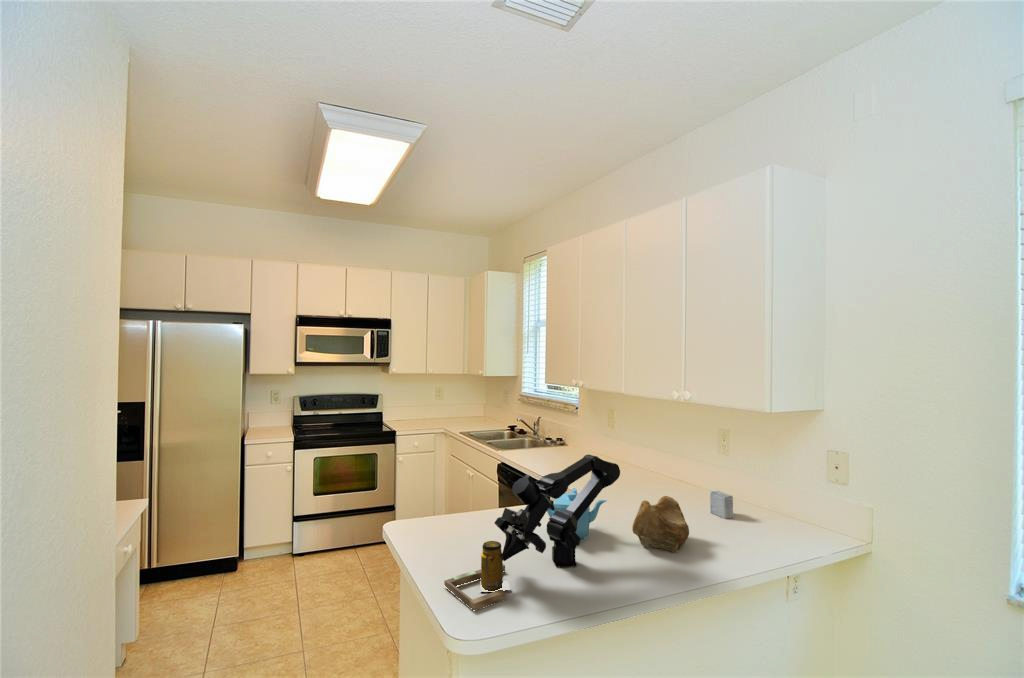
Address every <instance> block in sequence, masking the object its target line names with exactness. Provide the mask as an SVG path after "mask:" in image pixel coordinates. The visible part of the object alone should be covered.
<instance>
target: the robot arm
mask: <svg viewBox="0 0 1024 678" xmlns="http://www.w3.org/2000/svg"><path fill="white" fill-rule="evenodd" d="M588 473H591V474H590V479H589V480H588V481H587V483H586V484H585V485H584V486H583V488H582V489H581V490H580V491H579V493H577V494H578V495H577V496H576V498H575V499H574V500H573V501H572V503H571V504H570V505H569V506H568V508H567V509H566V510H565V511H559V510H556V511H555V512H554V514H553V515H552V517H550V516H549V518H548V521H547V524H546V533H547V535H548V537H549V540H550V541H551V542H553V546H551V560H552V562H553V564H554V565H555V567H556V568H564V567H565V568H570V567H577V566H578V564H577V562H576V548H577V547H578V546H580V544H581V543H580V542H581V541H580V537H579V536H578V535H577V534H576V533H575V532H576V530H577V522H578V520H579V519H580V517H581V516H582V515H583V513H584V512H585V511H586V510H587V508H588V507H589V506H591V505H592V504H593V502H594V500H595V499H596V498H597V497H598V495H599V494H600V493H601V492H602V490H603V489H605V488H607V487H610V486H611V485H613V484H614V483H615V482H616V481H618V479H619V478H620V476H621V469H620V466H619V464H617V463H615V462H610V461H607V460H604V459H602V458H600V457H599V456H597V455H593V454H586V455H584V456H583V457H582V458H580V459H579V460H577V461H576V462H574V463H572V464H570V465H569V466H567V467H566V468H564V469H563V470H560V471H558V472H551V473H548V474H545V475H543V476H541V478H540V479H538V480H535V481H534V479H533V477H532V476H531V475H529V474H525V475H524V477H521V478H519V479H517V480H516V481H514V482H513V485H512V486H511V491H512V493H513V494H514V496H516V497H517V498H518V499H519V501H520V502H521V503H522V504H524V505H526V506H525V508H524V509H523V508H520V509H519V510H517V511H515V510H512V509H509V508H507V507H504V509H503V512H502V514H501V516H499V517H497V518H496V520H495V522H494V525H495V526H497V528H498V529H499V530H501V532H502V533H503V534H504V535H505V541H504V547H503V550H502V554H503V561H504V562H505V561H508V560H509V559H510V558H512V557H514V556H516V555H517V554H520V553H521V552H523V551H525V550H529V549H530V547H529V546H530V544H531V545H534V548H535V550H536V551H537V552H539V553H540V554H543V553H544V552H545V550H546V548H547V542H546V541H544V539H543V538H542V537H541V536H540V535H539V534H537V533H535V532H534V531H535V530H536V529H537V527H539V528H541V526H542V523H541V521H542V519H543V517H545V515H546V513H548V512H547V510H548V509H550V510H553V511H554V510H555V509H554V502H555V499H558V498H560V497H561V496H562V495H563V494H564V493H566V492H567V491H568V488H569V486H570V485H571V484H573V483H574V482H576V481H578V480H579V479H581V478H582V477H584V476H586V475H587V474H588ZM546 497H547V498H548V499H547V498H546ZM549 498H551V499H554V500H551V499H549Z"/></svg>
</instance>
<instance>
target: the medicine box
mask: <svg viewBox="0 0 1024 678" xmlns="http://www.w3.org/2000/svg"><path fill="white" fill-rule="evenodd" d="M709 499H710V501H709V503H710V507H709V508H710V513H711V514H712V515H715V516H718V517H720V518H723V519H725V520H727V519H732V518H733V517H734V498H733V495H731V494H728V493H726V492H722V491H720V490H714V491H710V495H709Z"/></svg>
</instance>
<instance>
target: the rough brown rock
mask: <svg viewBox="0 0 1024 678" xmlns="http://www.w3.org/2000/svg"><path fill="white" fill-rule="evenodd" d="M631 529H632V533H633V534H634V535H636V536H637V537H638V539H639V542H640V544H641V546H642V547H643V548H650V547H653V548H656V549H657V548H658V549H665V550H666V551H668V552H671V553H674V554H675V553H677V552H678V551H679V552H680V550H681V549H682V547H683V546H684V544H686V543H685V542H686V541H688V538H689V536H690V529H689V525H688V523H687V522H686V519H685V516H684V514H683V511H682V509H681V506H680V504H679V502H678V501H677V500H676V499H674V498H673V497H671V496H668V495H664V496H662V497H661V498H660V499H659V500H658V501H657V503H655V504H651V503H650V502H649V501H648V500H642V501H641V503H640V506H639V508H638V511H637V513H636V516H635V518H634V520H633V523H632V528H631Z"/></svg>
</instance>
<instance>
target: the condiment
mask: <svg viewBox="0 0 1024 678" xmlns="http://www.w3.org/2000/svg"><path fill="white" fill-rule="evenodd" d="M502 553H503V550H502V543H501V542H499V541H498V540H488V541H487V540H486V541H484V543H483V544H482V553H480V554H481V556H480V557H481V558H480V560H481V561H480V562H481V563H480V566H481V567H480V568H481V580H480V581H481V585H482V587H483V588H484V589H485V590H488V591H495V590H498V589H500V588H502V583H503V580H504V578H503V576H504V575H503V564H504V563H503V554H502ZM505 591H506V592H512V589H511V590H505ZM505 591H504V592H505ZM506 592H505V593H506Z"/></svg>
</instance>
